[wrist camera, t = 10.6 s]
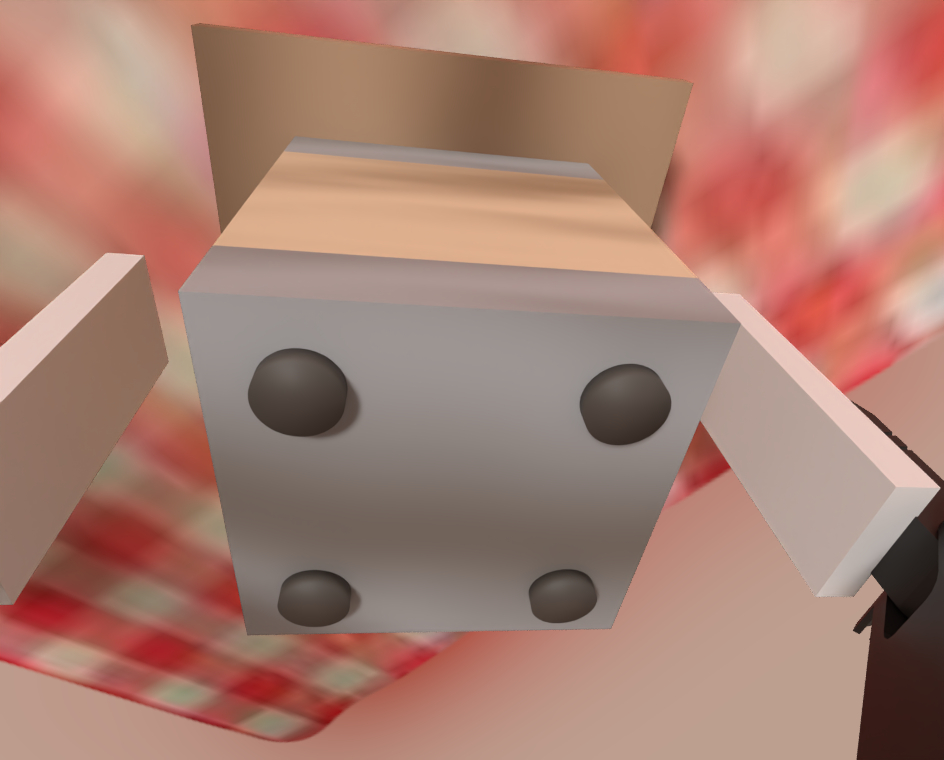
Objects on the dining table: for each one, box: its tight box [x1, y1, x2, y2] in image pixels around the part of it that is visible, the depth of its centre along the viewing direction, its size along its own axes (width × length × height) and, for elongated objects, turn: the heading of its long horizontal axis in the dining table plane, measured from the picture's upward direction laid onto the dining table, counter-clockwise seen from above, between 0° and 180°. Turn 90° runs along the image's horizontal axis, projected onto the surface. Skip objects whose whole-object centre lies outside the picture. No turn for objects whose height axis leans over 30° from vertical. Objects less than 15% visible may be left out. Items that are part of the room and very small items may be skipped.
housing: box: [178, 136, 741, 635], centre depth 12 cm, size 7×7×8 cm
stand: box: [191, 23, 693, 234], centre depth 17 cm, size 11×11×3 cm
